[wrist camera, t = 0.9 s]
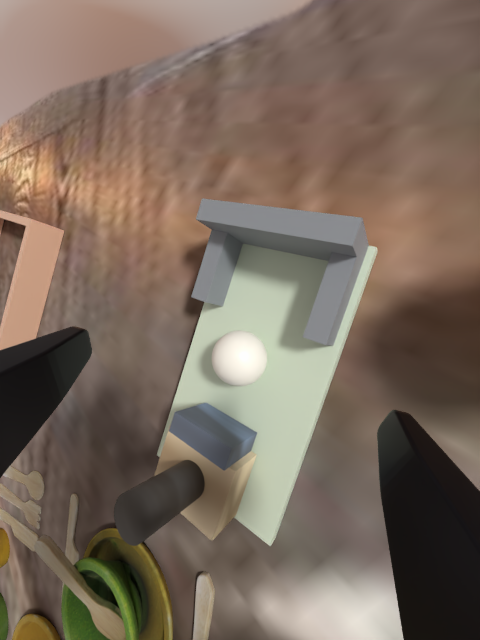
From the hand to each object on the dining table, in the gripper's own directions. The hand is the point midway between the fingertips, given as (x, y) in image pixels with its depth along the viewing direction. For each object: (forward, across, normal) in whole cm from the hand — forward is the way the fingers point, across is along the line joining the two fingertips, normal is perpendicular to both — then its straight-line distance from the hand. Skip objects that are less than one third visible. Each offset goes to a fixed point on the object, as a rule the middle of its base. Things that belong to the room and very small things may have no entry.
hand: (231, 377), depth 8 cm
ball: (+9, 0, +8) cm, 12 cm away
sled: (+6, 0, +15) cm, 17 cm away
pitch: (+11, -1, +10) cm, 15 cm away
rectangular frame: (+26, +40, +20) cm, 52 cm away
